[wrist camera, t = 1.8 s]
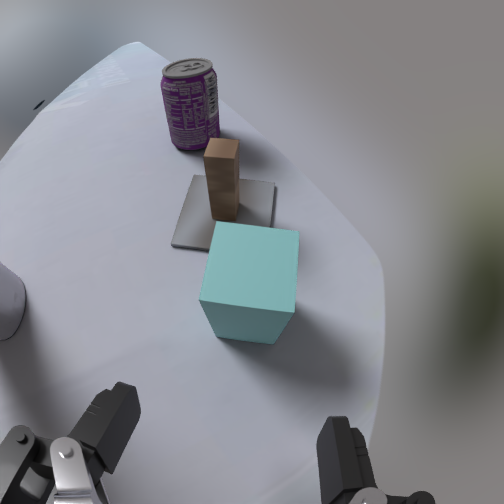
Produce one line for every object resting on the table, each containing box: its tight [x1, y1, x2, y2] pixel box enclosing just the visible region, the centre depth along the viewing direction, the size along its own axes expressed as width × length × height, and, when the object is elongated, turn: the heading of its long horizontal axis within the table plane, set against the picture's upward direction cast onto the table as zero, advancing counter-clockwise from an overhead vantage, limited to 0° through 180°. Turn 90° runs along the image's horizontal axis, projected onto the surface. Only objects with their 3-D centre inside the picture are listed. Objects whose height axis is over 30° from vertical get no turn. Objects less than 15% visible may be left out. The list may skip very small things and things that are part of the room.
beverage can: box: [161, 58, 220, 150], centre depth 32 cm, size 7×7×12 cm
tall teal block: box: [199, 221, 299, 344], centre depth 20 cm, size 5×5×11 cm
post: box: [171, 138, 275, 251], centre depth 26 cm, size 10×10×10 cm
